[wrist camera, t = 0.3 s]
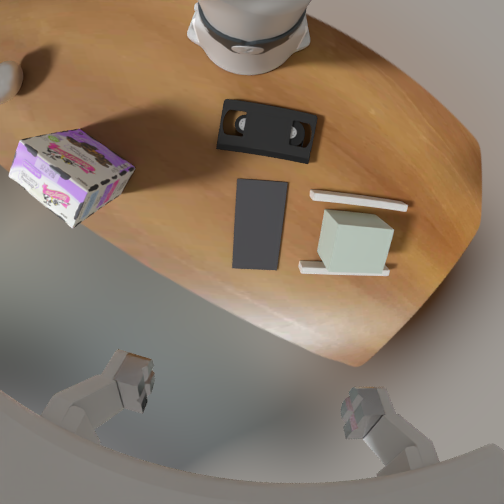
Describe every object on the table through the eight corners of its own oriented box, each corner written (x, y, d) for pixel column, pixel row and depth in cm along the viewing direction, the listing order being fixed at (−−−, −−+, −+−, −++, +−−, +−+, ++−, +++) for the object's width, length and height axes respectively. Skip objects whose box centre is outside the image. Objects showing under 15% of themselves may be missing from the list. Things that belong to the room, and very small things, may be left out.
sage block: (324, 208, 47) (338, 224, 40) (375, 214, 47) (394, 229, 40) (317, 251, 50) (328, 271, 43) (365, 253, 51) (381, 273, 44)
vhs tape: (314, 116, 40) (317, 115, 38) (305, 162, 43) (308, 164, 42) (225, 99, 38) (224, 98, 37) (217, 147, 42) (216, 148, 40)
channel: (237, 178, 44) (237, 181, 41) (401, 197, 46) (408, 201, 43) (232, 267, 51) (232, 274, 48) (382, 273, 53) (387, 279, 50)
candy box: (137, 167, 42) (89, 192, 27) (121, 195, 44) (72, 231, 29) (79, 127, 38) (18, 137, 23) (66, 155, 40) (6, 176, 25)
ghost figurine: (30, 52, 29) (-2, 47, 20) (32, 91, 33) (-1, 92, 24) (3, 73, 29) (-28, 73, 20) (5, 110, 33) (-27, 115, 24)
